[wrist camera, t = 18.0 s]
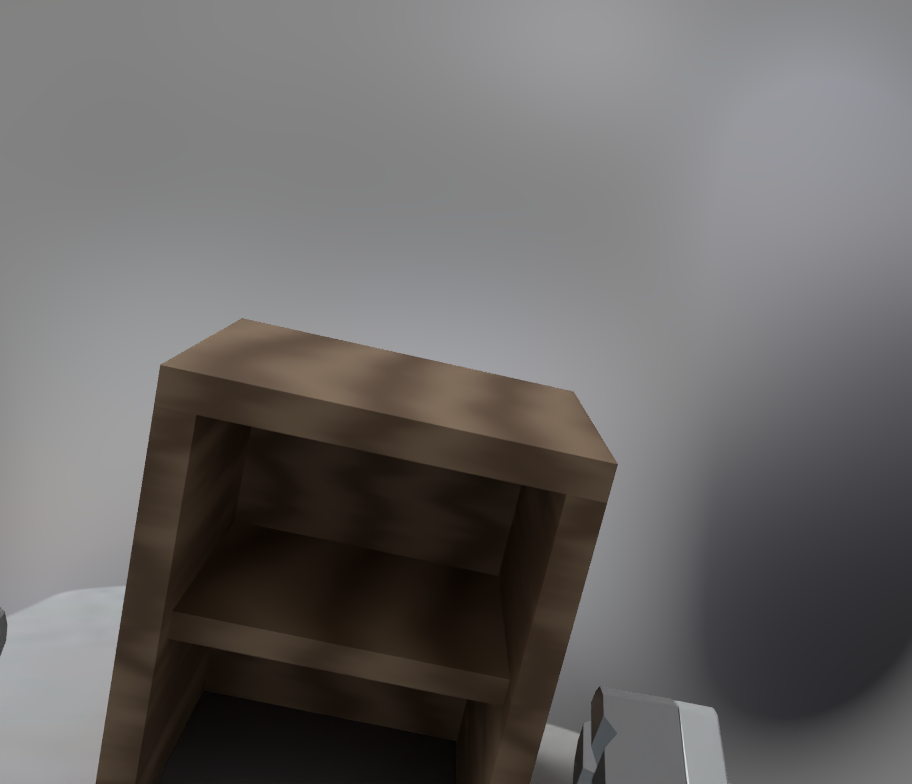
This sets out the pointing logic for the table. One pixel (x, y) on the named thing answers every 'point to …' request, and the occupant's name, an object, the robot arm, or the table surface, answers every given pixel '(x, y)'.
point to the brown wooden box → (354, 547)
